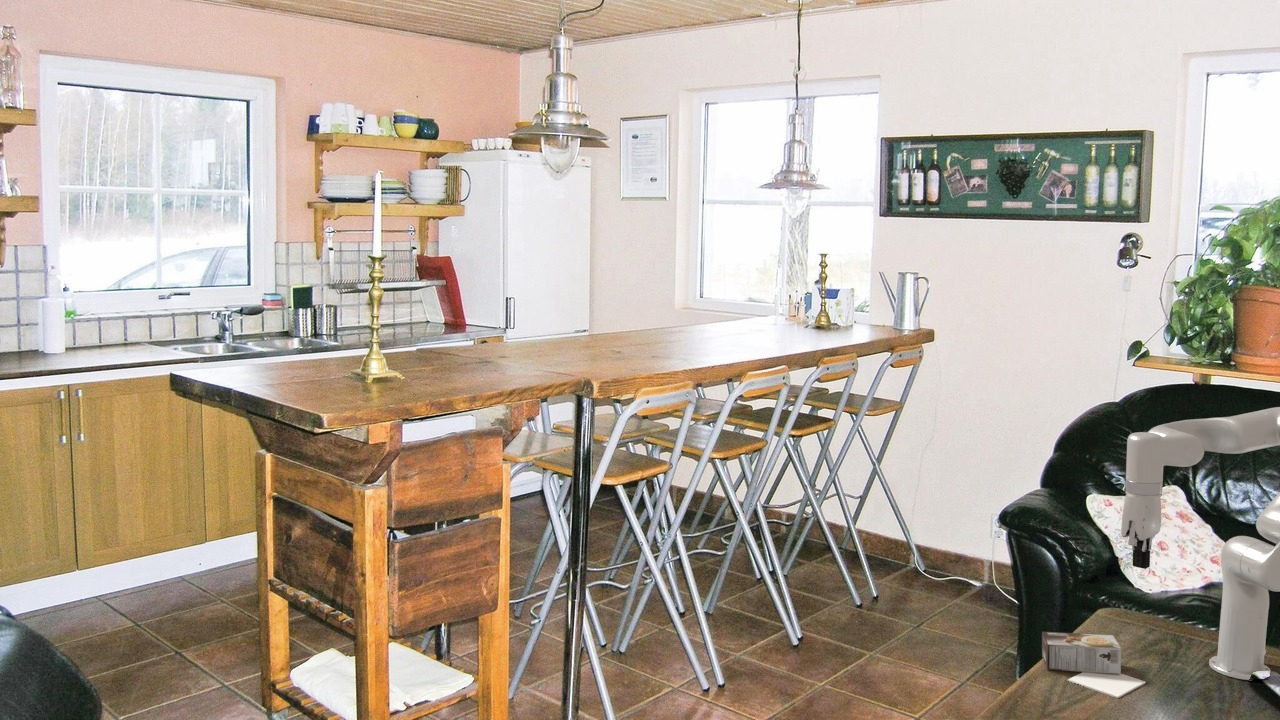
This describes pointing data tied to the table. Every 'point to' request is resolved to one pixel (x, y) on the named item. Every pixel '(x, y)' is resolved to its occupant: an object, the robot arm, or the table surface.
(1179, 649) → the table surface
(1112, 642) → the coffee box
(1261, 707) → the table surface
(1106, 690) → the mat
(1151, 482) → the robot arm
